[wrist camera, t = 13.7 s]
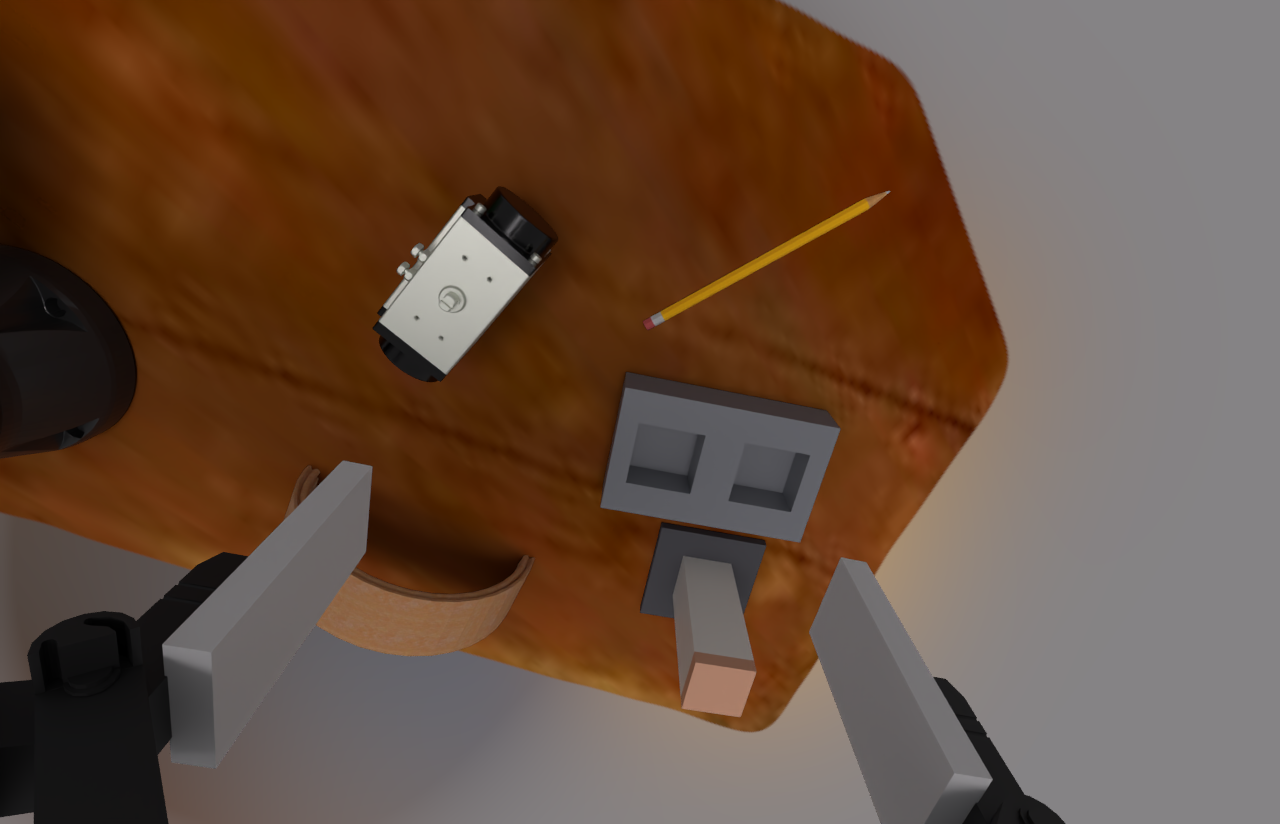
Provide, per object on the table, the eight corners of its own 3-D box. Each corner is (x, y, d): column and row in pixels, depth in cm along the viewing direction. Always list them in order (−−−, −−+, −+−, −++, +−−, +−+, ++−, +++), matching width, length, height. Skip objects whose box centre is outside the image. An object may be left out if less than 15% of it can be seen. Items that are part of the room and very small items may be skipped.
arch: (310, 462, 50) (235, 530, 40) (536, 557, 53) (514, 640, 44) (290, 517, 51) (214, 593, 42) (509, 605, 55) (483, 694, 46)
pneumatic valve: (573, 228, 43) (551, 251, 31) (472, 347, 46) (419, 406, 35) (511, 171, 41) (464, 173, 30) (411, 297, 44) (335, 342, 33)
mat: (640, 606, 55) (640, 612, 54) (661, 522, 52) (662, 527, 51) (737, 622, 56) (738, 628, 55) (764, 540, 52) (766, 545, 51)
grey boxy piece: (602, 485, 50) (600, 507, 47) (626, 372, 47) (625, 387, 43) (789, 518, 51) (799, 542, 48) (826, 410, 48) (840, 428, 45)
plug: (672, 595, 53) (681, 708, 42) (683, 555, 52) (695, 662, 41) (719, 602, 54) (740, 717, 43) (731, 563, 52) (756, 671, 41)
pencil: (642, 319, 45) (642, 322, 45) (886, 184, 42) (890, 185, 41) (647, 329, 46) (648, 331, 45) (890, 195, 42) (894, 196, 42)
